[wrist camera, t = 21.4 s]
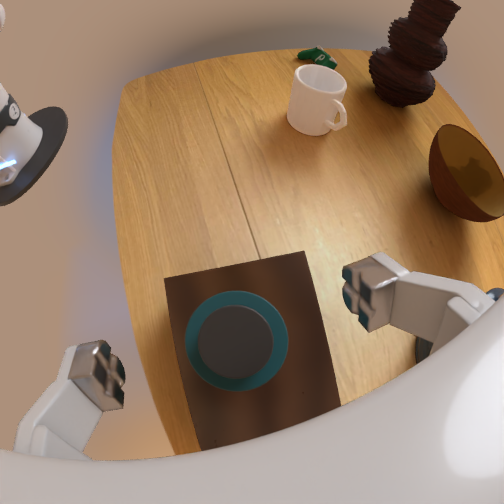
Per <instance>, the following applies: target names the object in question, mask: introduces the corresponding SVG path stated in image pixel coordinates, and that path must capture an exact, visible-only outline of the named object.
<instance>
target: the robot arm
mask: <svg viewBox="0 0 504 504" xmlns="http://www.w3.org/2000/svg"><path fill="white" fill-rule="evenodd" d="M4 22H5V10H4V8H3V6H2V5H1V4H0V32H1V31H2V28H3V26H4ZM42 135H43V131H42V128H41V127H39V126H38V125H36V124H35V123H33V122H32V121H31V120H30V119H29V118H28V117H27V116H25V114H24V113H22V112H21V111H20V109H19V107H18V105H17V103H16V101H15V100H14V99H13V97H12V96H11V95H10V94H7V92H6V91H5V89H4V88H3V86H2V85H1V83H0V187H1V186H5V185H8V184H11V183H12V182H13V181H14V180H15V178H16V177H17V175H18V173H19V172H20V170H21V169H22V168H23V167H24V166H25V165H26V163H27V162H28V161H29V160H30V159H31V157H32V156H33V154H34V153H35V151H36V150H37V148H38V146H39V144H40V142H41V139H42ZM342 277H343V278H344V279H345V280H346V282H345V284H344V286H343V288H342V291H343V298H344V302H345V304H346V306H347V308H348V309H349V310H350V312H351V313H354V314H357V315H359V319H358V321H359V322H360V323H361V324H362V326H363V327H364V328H365V329H366V330H367V331H368V332H369V333H370V332H372V331H374V330H376V329H378V328H380V327H382V326H385V325H387V324H390V325H392V326H394V327H397V328H399V329H401V330H404V331H406V332H409V333H411V334H413V335H416V336H418V337H421V338H423V339H425V340H428V341H430V342H433V343H434V344H433V346H432V349H431V352H430V355H429V356H428V357H427V358H426V359H424V360H423V361H421V362H420V363H418V364H417V365H415V366H413V367H412V368H410V369H409V370H407V371H406V372H404V373H402V374H401V375H399V376H397V377H396V378H394V379H392V380H391V381H389V382H387V383H385V384H383V385H382V386H380V387H378V388H376V389H374V390H373V391H371V392H369V393H367V394H365V395H363V396H361V397H359V398H357V399H355V400H353V401H351V402H349V403H347V404H345V405H342V406H340V407H338V408H336V409H334V410H331V411H329V412H327V413H324V414H322V415H320V416H317V417H315V418H312V419H310V420H307V421H305V422H302V423H300V424H297V425H294V426H291V427H289V428H286V429H283V430H280V431H277V432H274V433H271V434H268V435H264V436H261V437H258V438H254V439H251V440H247V441H244V442H240V443H236V444H232V445H228V446H223V447H219V448H214V449H210V450H205V451H200V452H194V453H188V454H182V455H175V456H167V457H159V458H149V459H137V460H115V461H114V460H113V461H93V460H92V459H91V458H90V457H88V456H87V455H85V454H84V453H82V452H83V451H84V449H85V447H86V445H87V442H88V441H89V439H90V437H91V435H92V433H93V431H94V429H95V428H96V426H97V424H98V422H99V420H100V418H101V416H102V414H103V412H104V411H111V410H117V409H123V403H124V392H123V391H122V389H121V387H122V386H123V385H124V383H125V371H124V367H123V365H122V363H121V361H120V360H119V358H118V357H117V356H115V355H113V354H111V353H110V352H111V347H110V346H109V345H108V343H107V342H106V341H104V340H98V341H94V342H89V343H84V344H80V345H75V346H70V347H68V348H67V349H66V352H65V354H64V357H63V360H62V363H61V366H60V369H59V373H58V376H57V380H56V381H54V382H52V383H51V384H50V386H49V387H48V388H47V389H46V390H45V392H44V393H43V394H42V395H41V396H40V398H39V399H38V400H37V401H36V402H35V403H34V405H33V406H32V407H31V408H30V409H29V411H28V412H27V413H26V414H25V416H24V417H23V418H22V419H21V421H20V422H19V424H18V428H17V432H16V437H15V442H14V447H13V451H8V450H4V449H0V504H504V294H503V295H502V296H501V297H500V298H499V299H498V300H497V301H494V300H493V299H492V298H491V297H489V296H488V295H487V294H485V293H484V292H483V291H482V290H480V289H479V288H478V287H476V286H475V285H474V284H472V283H468V282H463V281H459V280H454V279H450V278H445V277H440V276H435V275H431V274H426V273H421V272H416V271H413V272H409V271H408V270H407V269H405V268H404V267H403V266H401V265H400V264H399V263H397V262H396V261H395V260H393V259H392V258H390V257H389V256H388V255H386V254H385V253H384V252H378V253H375V254H373V255H370V256H368V257H367V258H364V259H362V260H359V261H356V262H354V263H351V264H348V265H346V266H343V270H342Z"/></svg>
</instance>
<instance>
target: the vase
mask: <svg viewBox="0 0 504 504" xmlns="http://www.w3.org/2000/svg"><path fill="white" fill-rule="evenodd" d="M410 8H411V11H409V12H408V13H409V15H408V17H406V18H401V17H400V18H399V19H398V20H394V22H393V23H392V22H391V24H392V27H389V28H390V31H388V33H389V34H390V36H389V35H388V38H389V41H388V42H389V43H390V46H389V47H390V48H387V47H381V48H380V49H376V51H372V54H373V56H370V59H369V60H368V61H369V64H370V65H369V68H370V70H369V73H371V78H372V79H373V83H374V84H375V92H376V93H377V94H378V95H379V96H380V98H381V99H382V100H384V101H386V102H387V103H389V104H391V105H392V106H395V107H402V108H403V107H405V106H408V105H416V104H419V103H423V102H426V100H428V98H430V97H431V95H433V92H434V90H435V86H436V84H434V83H435V80H433V79H434V78H433V76H432V75H431V73H430V72H429V70H430V71H432V70H433V69H434V70H435V69H436V68H437V67H439V66H440V65H441V64H442V62H443V61H445V60H446V59H445V58H446V55H447V46H446V44H445V42H444V41H443V39H442V36H443V35H444V33H445V32H446V30H447V28H448V26H449V24H450V23H451V21H452V20H453V19H454V17H455V13H457V11H458V10H460V9H461V7H460V6H458V5H456V4H455V3H454V2H453V1H451V0H414V3H412V6H411V7H410ZM450 20H451V21H450ZM385 48H386V49H385Z"/></svg>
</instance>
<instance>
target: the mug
mask: <svg viewBox="0 0 504 504" xmlns="http://www.w3.org/2000/svg"><path fill="white" fill-rule="evenodd" d="M346 89H347V83H346V81H345V79H344V78H343V77H342V76H341V75H340V74H339V73H337V72H336V71H334V70H332V69H330V68H328V67H325V66H321V65H314V64H309V65H303V66H300V67H298V68H297V69H296V70H295V74H294V80H293V85H292V90H291V96H290V101H289V106H288V111H287V119H288V122H289V123H290V125H291V126H292V127H293V128H294V129H296V130H297V131H299V132H301V133H303V134H307V135H310V136H320V135H324V134H326V133H327V132H329V131H330V129H333V130H335V131H337V130H339V129H341V128H343V127H344V126H346V125H347V112H346V110H345V108H344V106H343V104H342V103H341V102H342V99H343V97H344V94H345V91H346ZM338 111H339V113H340V122H338V123H336V124H334V120H335V118H336V115H337V113H338Z"/></svg>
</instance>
